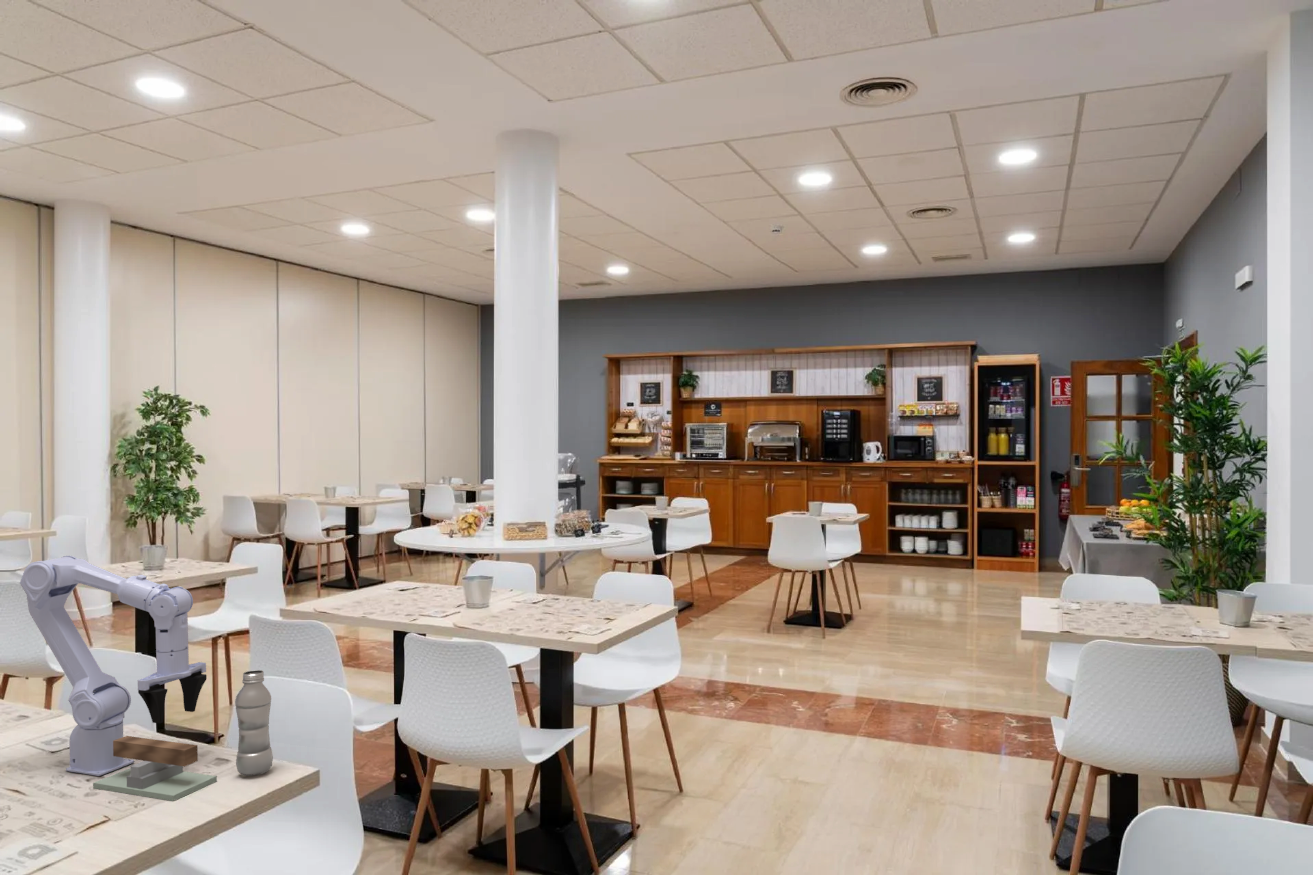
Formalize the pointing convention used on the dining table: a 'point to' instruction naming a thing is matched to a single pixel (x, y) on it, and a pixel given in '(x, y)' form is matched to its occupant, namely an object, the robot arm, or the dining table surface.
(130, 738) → the walnut beam
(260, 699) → the plastic bottle
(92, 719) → the robot arm
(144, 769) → the balance stand
